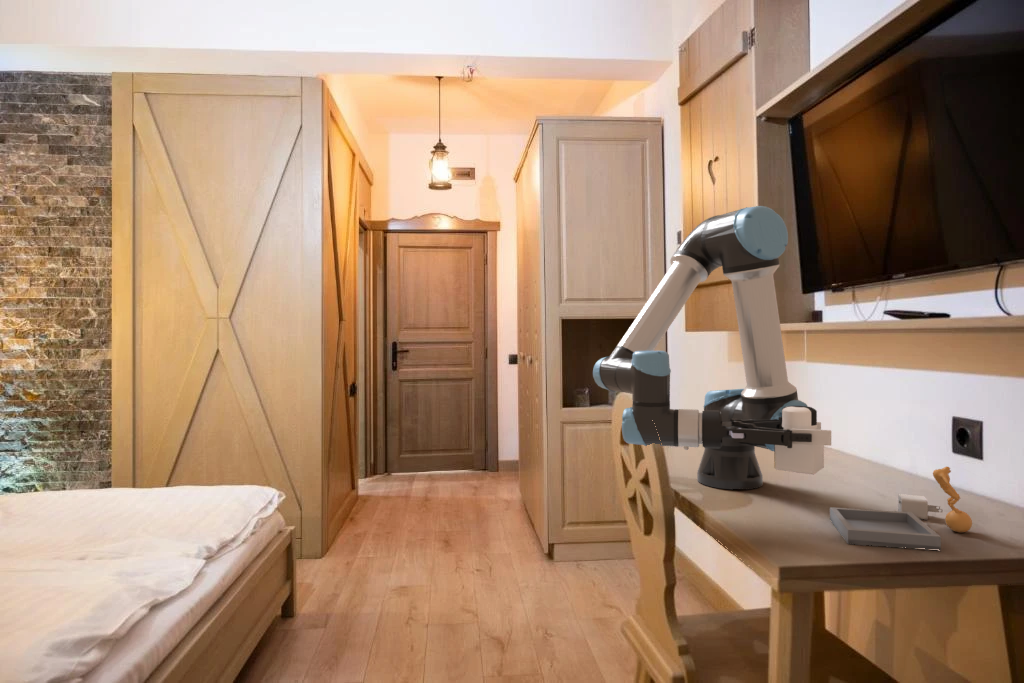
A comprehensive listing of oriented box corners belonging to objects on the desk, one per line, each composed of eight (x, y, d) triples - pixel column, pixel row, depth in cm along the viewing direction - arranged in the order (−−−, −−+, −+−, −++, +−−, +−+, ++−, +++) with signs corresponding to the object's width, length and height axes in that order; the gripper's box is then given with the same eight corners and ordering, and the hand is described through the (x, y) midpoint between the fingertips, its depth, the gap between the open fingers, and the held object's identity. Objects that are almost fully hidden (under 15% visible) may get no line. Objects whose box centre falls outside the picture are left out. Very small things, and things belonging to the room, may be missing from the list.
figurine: (980, 540, 106) (981, 472, 106) (941, 537, 108) (941, 470, 108) (962, 525, 114) (962, 462, 114) (925, 523, 116) (925, 461, 116)
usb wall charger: (898, 512, 123) (898, 493, 123) (938, 516, 120) (938, 496, 120) (901, 518, 120) (901, 498, 120) (943, 522, 117) (943, 501, 117)
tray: (829, 519, 119) (829, 507, 119) (911, 525, 115) (911, 512, 115) (848, 544, 105) (848, 529, 105) (940, 551, 102) (940, 536, 101)
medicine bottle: (785, 463, 120) (785, 403, 120) (824, 468, 116) (824, 406, 116) (773, 469, 115) (773, 407, 115) (814, 475, 110) (814, 409, 110)
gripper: (701, 438, 131) (815, 442, 124) (701, 458, 110) (838, 465, 104) (700, 403, 131) (815, 406, 124) (700, 417, 110) (838, 422, 103)
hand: (825, 433), depth 114 cm, fingers closed on medicine bottle, 9 cm apart
